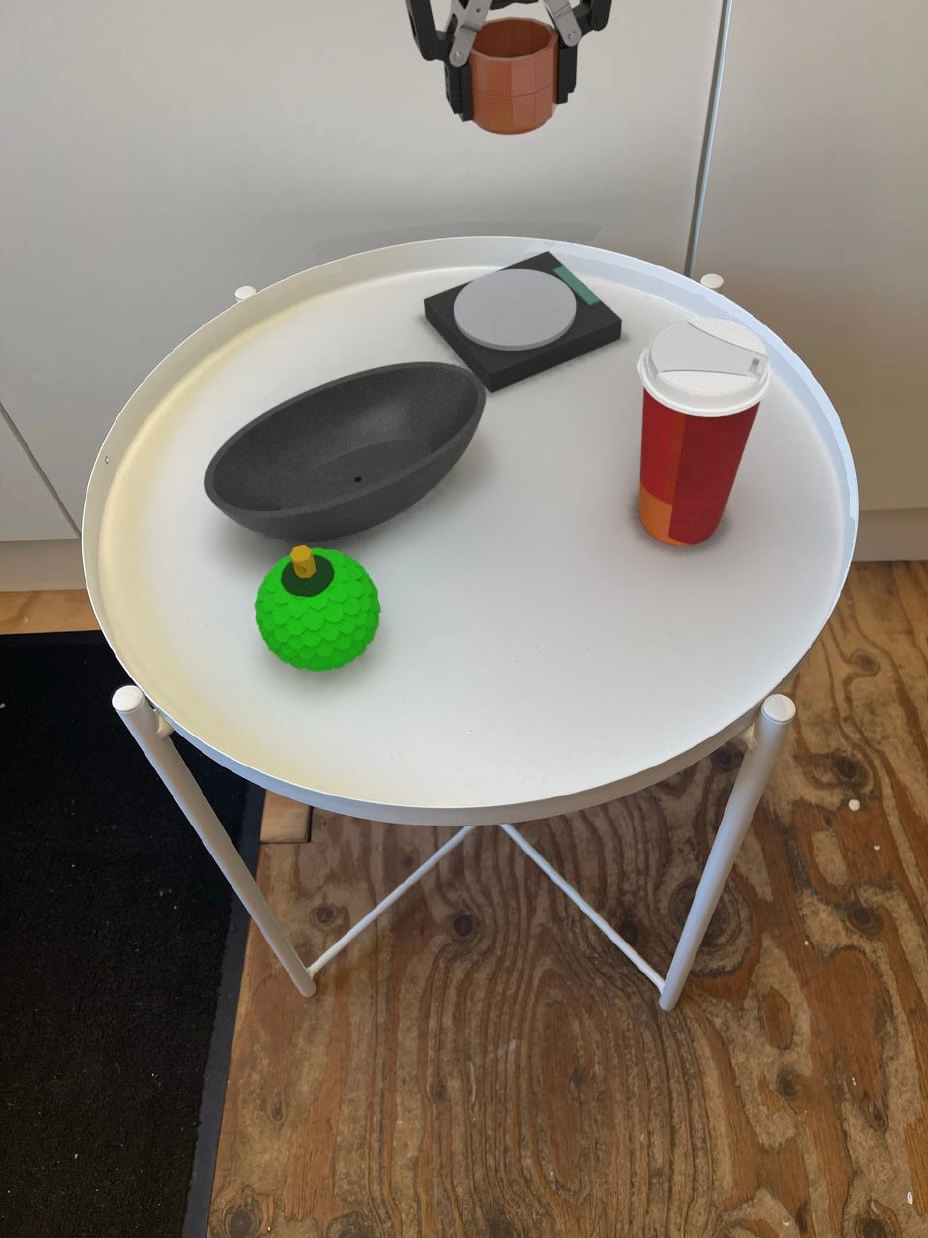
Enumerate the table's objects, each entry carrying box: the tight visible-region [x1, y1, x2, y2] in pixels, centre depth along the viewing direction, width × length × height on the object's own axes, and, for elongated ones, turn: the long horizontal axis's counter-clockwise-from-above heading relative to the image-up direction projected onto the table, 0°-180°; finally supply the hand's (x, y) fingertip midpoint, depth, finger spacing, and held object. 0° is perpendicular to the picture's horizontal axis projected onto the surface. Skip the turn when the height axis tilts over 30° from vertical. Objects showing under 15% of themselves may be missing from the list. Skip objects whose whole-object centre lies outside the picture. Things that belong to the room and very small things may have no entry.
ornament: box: [254, 544, 382, 673], centre depth 63 cm, size 8×8×10 cm
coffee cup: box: [636, 317, 773, 547], centre depth 66 cm, size 8×8×15 cm
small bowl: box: [467, 16, 558, 136], centre depth 65 cm, size 6×6×5 cm
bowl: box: [203, 361, 487, 543], centre depth 73 cm, size 12×22×6 cm, turn 120°
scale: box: [423, 250, 623, 394], centre depth 85 cm, size 13×12×3 cm
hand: (511, 106), depth 66 cm, fingers closed on small bowl, 6 cm apart
